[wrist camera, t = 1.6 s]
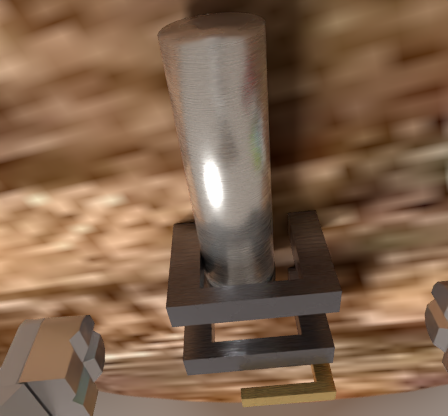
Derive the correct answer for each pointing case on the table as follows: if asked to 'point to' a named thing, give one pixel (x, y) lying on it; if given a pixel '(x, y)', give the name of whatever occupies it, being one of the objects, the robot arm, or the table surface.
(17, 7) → the table surface
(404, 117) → the table surface
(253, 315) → the collars
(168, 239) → the table surface
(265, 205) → the tube
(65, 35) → the table surface
